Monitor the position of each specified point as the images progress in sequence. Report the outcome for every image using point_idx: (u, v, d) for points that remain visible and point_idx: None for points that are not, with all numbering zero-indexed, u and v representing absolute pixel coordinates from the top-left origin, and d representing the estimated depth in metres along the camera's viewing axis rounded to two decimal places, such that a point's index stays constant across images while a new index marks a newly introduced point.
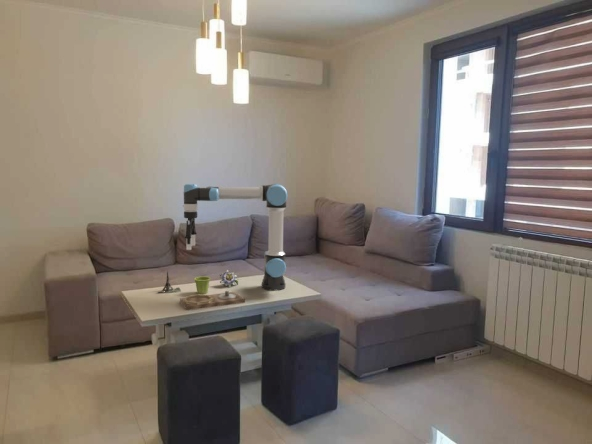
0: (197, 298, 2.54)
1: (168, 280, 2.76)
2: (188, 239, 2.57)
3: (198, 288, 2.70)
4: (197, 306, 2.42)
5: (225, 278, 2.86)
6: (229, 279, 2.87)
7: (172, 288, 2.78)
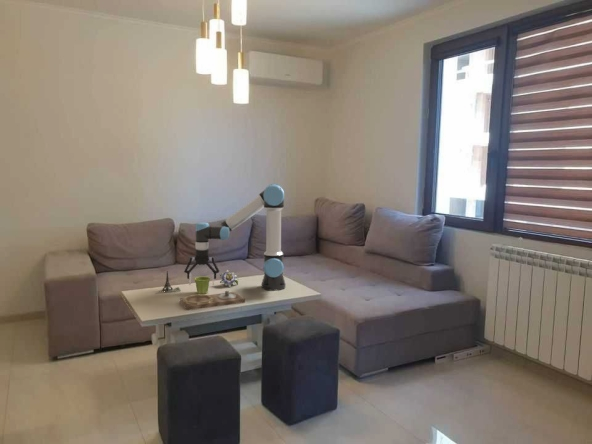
0: (197, 298, 2.54)
1: (168, 280, 2.76)
2: (187, 274, 2.71)
3: (198, 288, 2.70)
4: (197, 306, 2.42)
5: (225, 278, 2.86)
6: (229, 279, 2.87)
7: (172, 288, 2.78)
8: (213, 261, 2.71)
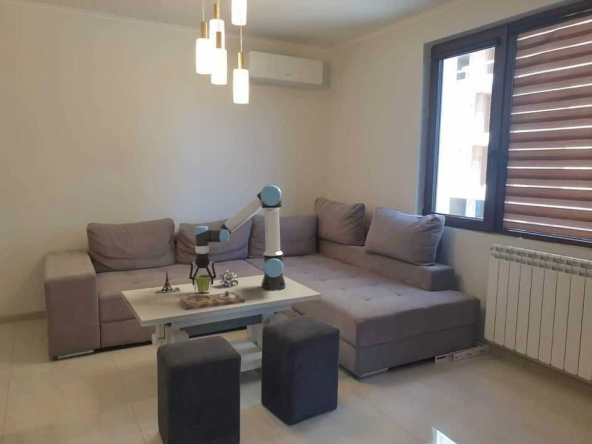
0: (197, 298, 2.54)
1: (167, 280, 2.77)
2: (192, 280, 2.71)
3: (199, 286, 2.70)
4: (197, 306, 2.42)
5: (225, 278, 2.86)
6: (229, 279, 2.87)
7: (171, 288, 2.78)
8: (213, 266, 2.71)
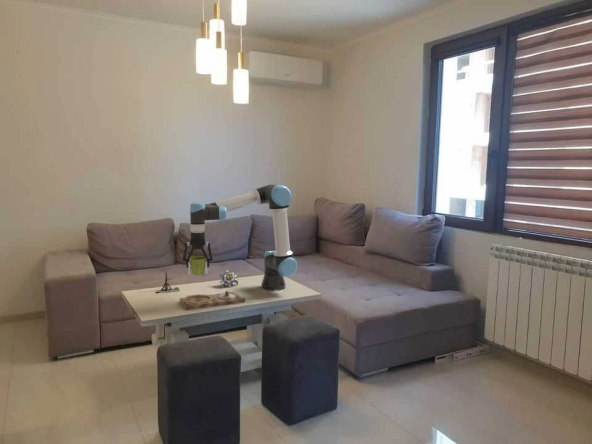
0: (197, 298, 2.54)
1: (167, 280, 2.77)
2: (186, 262, 2.47)
3: (194, 269, 2.45)
4: (197, 306, 2.42)
5: (225, 278, 2.86)
6: (229, 279, 2.87)
7: (171, 288, 2.78)
8: (209, 247, 2.46)
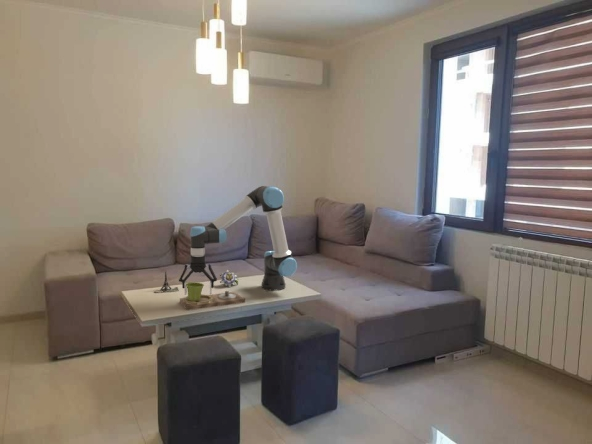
0: None
1: (166, 280, 2.77)
2: (182, 283, 2.48)
3: (190, 295, 2.46)
4: (197, 306, 2.42)
5: (225, 278, 2.86)
6: (229, 279, 2.87)
7: (170, 288, 2.79)
8: (210, 268, 2.48)
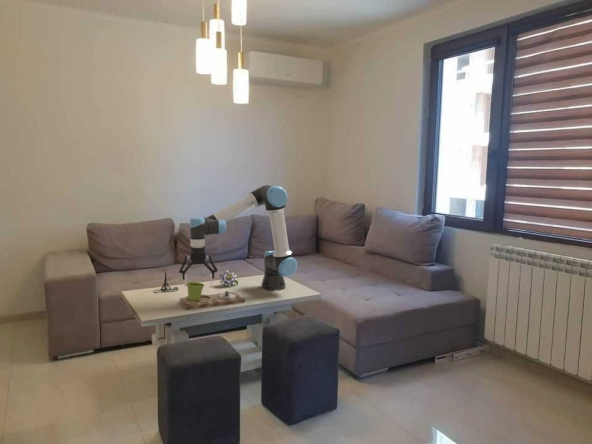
0: None
1: (166, 280, 2.77)
2: None
3: (190, 295, 2.46)
4: (197, 306, 2.42)
5: (225, 278, 2.86)
6: (229, 279, 2.87)
7: (170, 287, 2.79)
8: (210, 259, 2.47)
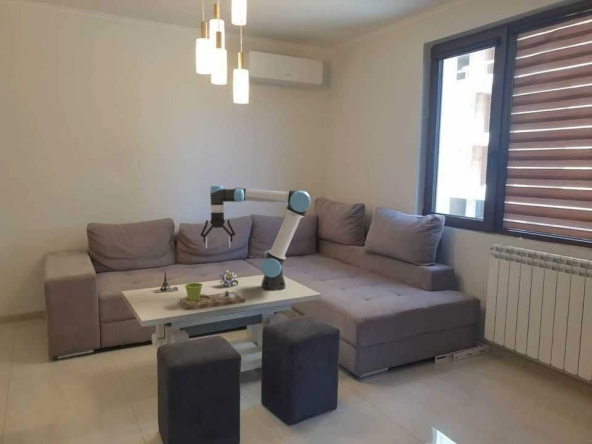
0: None
1: (166, 279, 2.78)
2: None
3: (189, 296, 2.46)
4: (197, 306, 2.42)
5: (225, 278, 2.86)
6: (229, 279, 2.87)
7: None
8: (229, 224, 2.71)
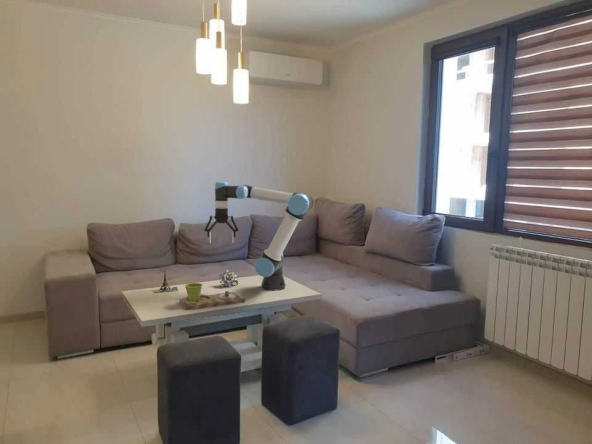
0: None
1: (165, 279, 2.78)
2: (207, 232, 2.77)
3: (189, 296, 2.46)
4: (197, 306, 2.42)
5: (225, 278, 2.86)
6: (229, 279, 2.87)
7: (169, 287, 2.79)
8: (232, 219, 2.77)
